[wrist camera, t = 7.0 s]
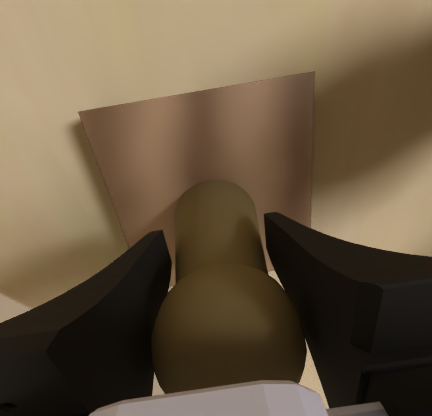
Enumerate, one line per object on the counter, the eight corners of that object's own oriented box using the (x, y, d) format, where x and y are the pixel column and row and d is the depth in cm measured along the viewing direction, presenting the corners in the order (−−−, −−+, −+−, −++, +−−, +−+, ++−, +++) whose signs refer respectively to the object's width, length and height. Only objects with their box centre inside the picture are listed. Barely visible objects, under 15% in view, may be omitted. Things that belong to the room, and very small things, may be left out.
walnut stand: (300, 76, 15) (314, 71, 13) (300, 250, 20) (309, 265, 18) (93, 111, 15) (77, 111, 13) (150, 274, 20) (145, 290, 19)
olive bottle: (213, 266, 18) (224, 463, 8) (157, 217, 16) (75, 399, 6) (272, 220, 16) (378, 391, 6) (218, 161, 15) (250, 273, 4)
